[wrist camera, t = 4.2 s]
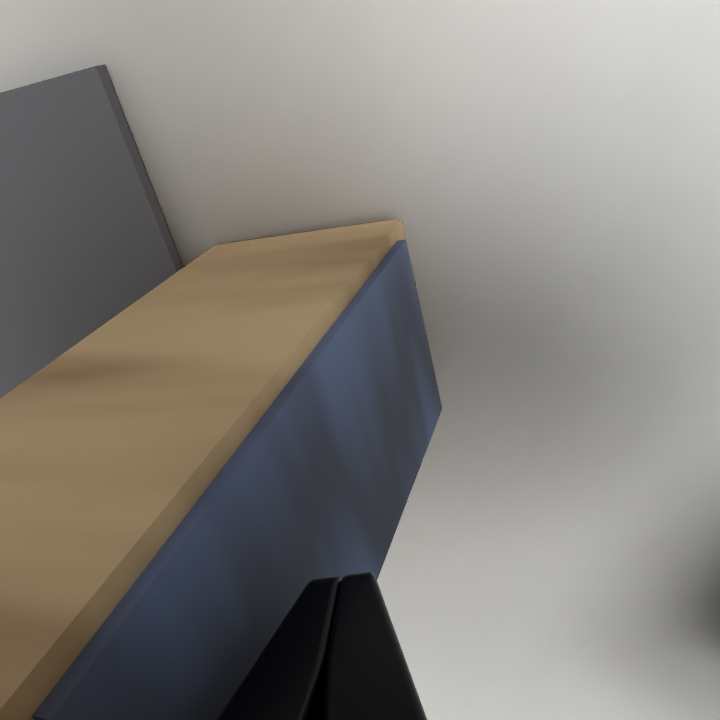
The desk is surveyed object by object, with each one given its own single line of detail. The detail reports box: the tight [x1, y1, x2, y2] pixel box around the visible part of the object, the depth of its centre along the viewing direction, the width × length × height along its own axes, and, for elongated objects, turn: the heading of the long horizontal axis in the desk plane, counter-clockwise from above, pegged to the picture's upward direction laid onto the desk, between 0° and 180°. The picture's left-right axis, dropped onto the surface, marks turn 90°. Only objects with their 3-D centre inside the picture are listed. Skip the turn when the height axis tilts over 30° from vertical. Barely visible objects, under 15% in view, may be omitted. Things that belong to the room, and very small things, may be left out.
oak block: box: [0, 218, 442, 720], centre depth 11 cm, size 5×5×12 cm
